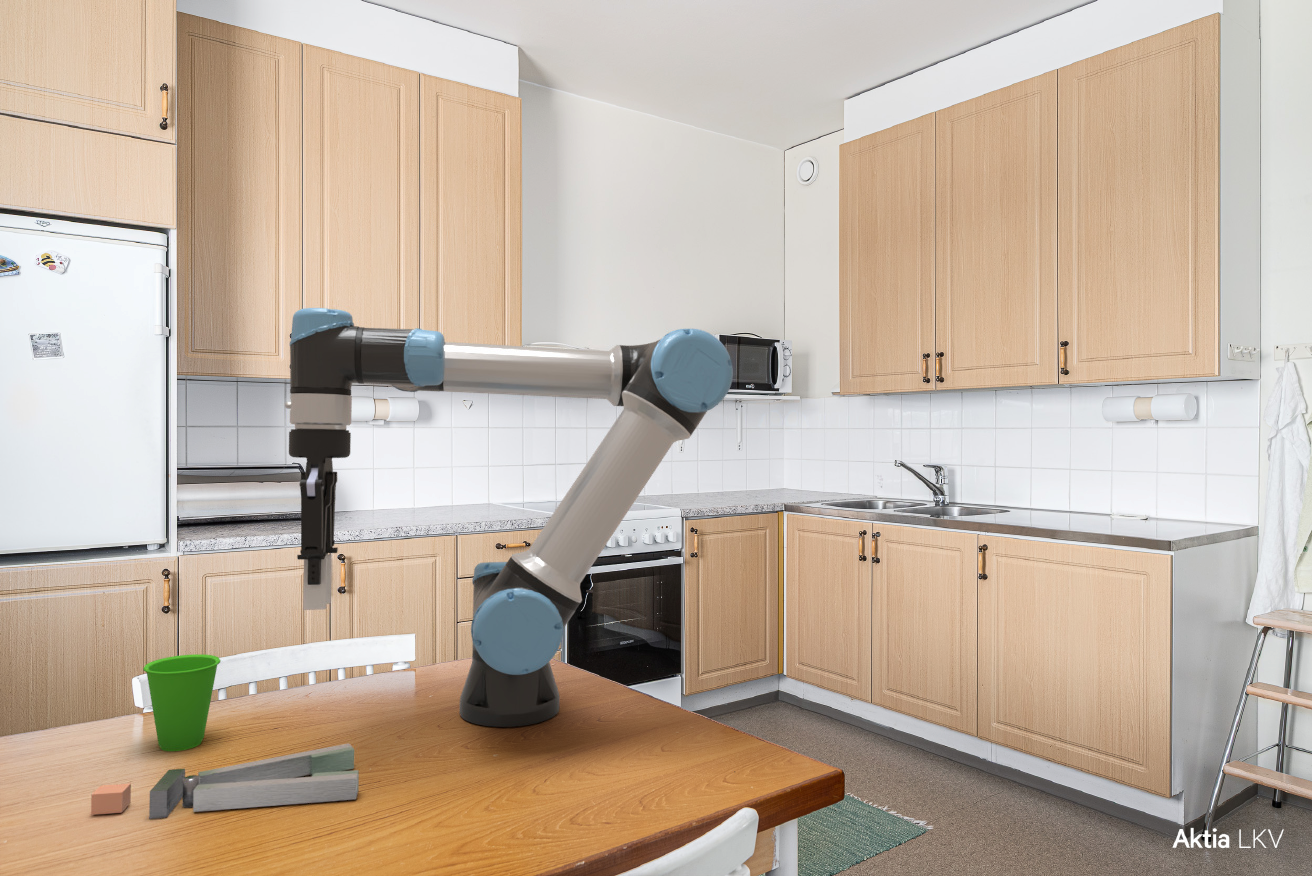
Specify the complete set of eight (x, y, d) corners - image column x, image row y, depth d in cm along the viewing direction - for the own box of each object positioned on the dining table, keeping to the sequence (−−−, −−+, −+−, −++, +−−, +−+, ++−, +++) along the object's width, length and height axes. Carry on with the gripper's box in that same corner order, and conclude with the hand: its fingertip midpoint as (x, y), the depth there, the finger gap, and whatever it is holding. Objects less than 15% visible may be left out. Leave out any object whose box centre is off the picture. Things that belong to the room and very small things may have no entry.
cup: (185, 760, 106) (186, 674, 106) (124, 753, 108) (126, 669, 108) (234, 735, 115) (235, 656, 115) (177, 730, 117) (179, 652, 117)
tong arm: (348, 762, 106) (349, 743, 106) (354, 768, 104) (354, 749, 104) (197, 792, 96) (198, 772, 96) (200, 800, 94) (200, 779, 94)
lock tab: (130, 802, 93) (130, 783, 93) (121, 812, 91) (122, 792, 91) (100, 805, 92) (100, 785, 92) (91, 814, 90) (91, 794, 90)
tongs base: (361, 781, 100) (361, 756, 100) (355, 802, 95) (355, 776, 95) (168, 795, 96) (168, 769, 96) (149, 818, 90) (149, 791, 90)
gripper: (301, 427, 116) (298, 595, 116) (276, 426, 100) (272, 620, 100) (358, 428, 117) (355, 594, 117) (341, 427, 102) (338, 618, 102)
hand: (317, 605), depth 109 cm, fingers open, 3 cm apart
